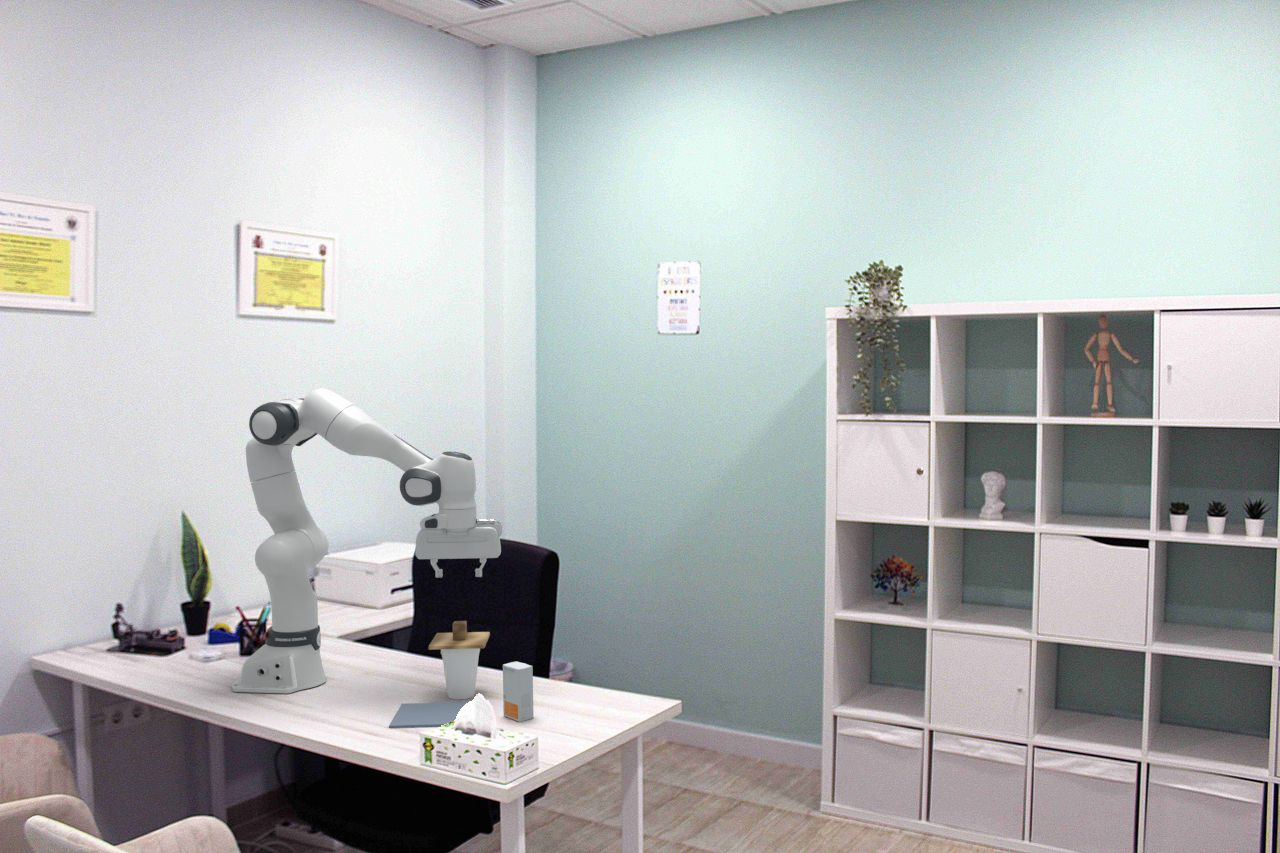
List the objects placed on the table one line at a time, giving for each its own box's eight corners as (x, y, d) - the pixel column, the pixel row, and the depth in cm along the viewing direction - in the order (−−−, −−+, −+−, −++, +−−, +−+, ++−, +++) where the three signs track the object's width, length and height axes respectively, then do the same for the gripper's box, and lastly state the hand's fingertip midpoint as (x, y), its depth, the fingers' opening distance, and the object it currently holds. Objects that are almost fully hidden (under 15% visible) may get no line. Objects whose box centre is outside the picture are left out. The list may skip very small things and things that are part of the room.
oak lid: (428, 649, 252) (428, 629, 251) (436, 636, 265) (436, 616, 264) (484, 648, 252) (483, 628, 252) (489, 635, 265) (489, 615, 265)
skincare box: (502, 716, 242) (501, 664, 242) (517, 712, 245) (516, 660, 245) (519, 722, 238) (518, 669, 237) (534, 718, 241) (533, 665, 240)
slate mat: (388, 727, 235) (388, 725, 235) (401, 705, 251) (401, 703, 251) (471, 725, 236) (471, 723, 236) (479, 703, 252) (479, 701, 252)
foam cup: (433, 698, 257) (432, 644, 256) (457, 687, 265) (456, 635, 265) (465, 703, 253) (464, 648, 252) (488, 692, 261) (487, 639, 260)
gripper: (502, 517, 261) (503, 573, 261) (417, 518, 260) (418, 575, 260) (500, 520, 254) (501, 578, 255) (413, 522, 253) (414, 580, 254)
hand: (458, 576), depth 258 cm, fingers open, 8 cm apart
